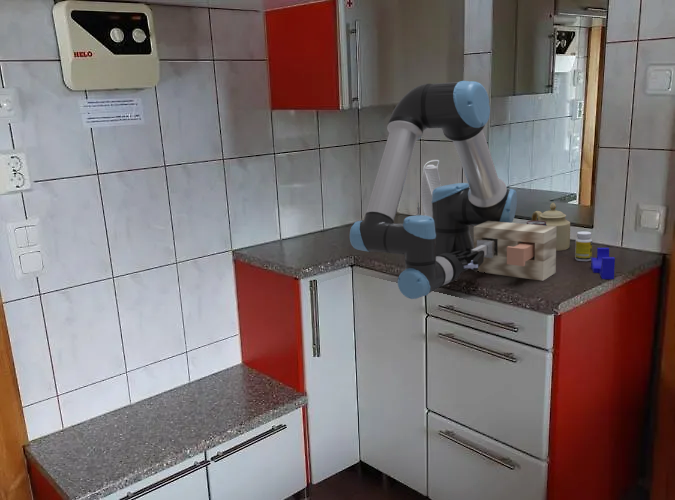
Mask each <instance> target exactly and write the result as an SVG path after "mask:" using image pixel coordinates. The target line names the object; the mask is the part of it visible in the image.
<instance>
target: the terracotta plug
mask: <svg viewBox="0 0 675 500" xmlns="http://www.w3.org/2000/svg"><path fill="white" fill-rule="evenodd" d="M534 256H535V243H531V242H523V243H521V244H519V245H517V246H515V247H511V246H508V247H507V264H510V265H518V266H525V262H526V261H527V260H529V259H531V258H533V257H534Z"/></svg>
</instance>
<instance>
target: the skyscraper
mask: <svg viewBox="0 0 675 500" xmlns="http://www.w3.org/2000/svg"><path fill="white" fill-rule="evenodd" d="M431 162H437V164H436V165H434V164H429V163H431ZM439 164H440V160H439V159H431V160H428V161H427V162H426V163H425V164H424V166H423V169H422V175H421V180H420V181H421V185H420V196H421V197H420V199H421V205H422V209H423V211H422V212H423V214H424V215H425V216H430V217H432V192H433V190H434V189H435V188H437V187H440V186H442V183H441V182H442V181H441V177H440V172H439ZM419 215H422V214H421V212H420V202H417V214H416V216H419Z"/></svg>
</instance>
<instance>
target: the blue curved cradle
mask: <svg viewBox="0 0 675 500" xmlns="http://www.w3.org/2000/svg"><path fill="white" fill-rule="evenodd" d="M596 249H597V250H596V257H592V258H591V260H590V268H591V270H592V272H593V274H599V275H600V278H601V279H602V280H614V279H615V264H616V263H615V260H616V258H615V257H614V256H610V247H596Z"/></svg>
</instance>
